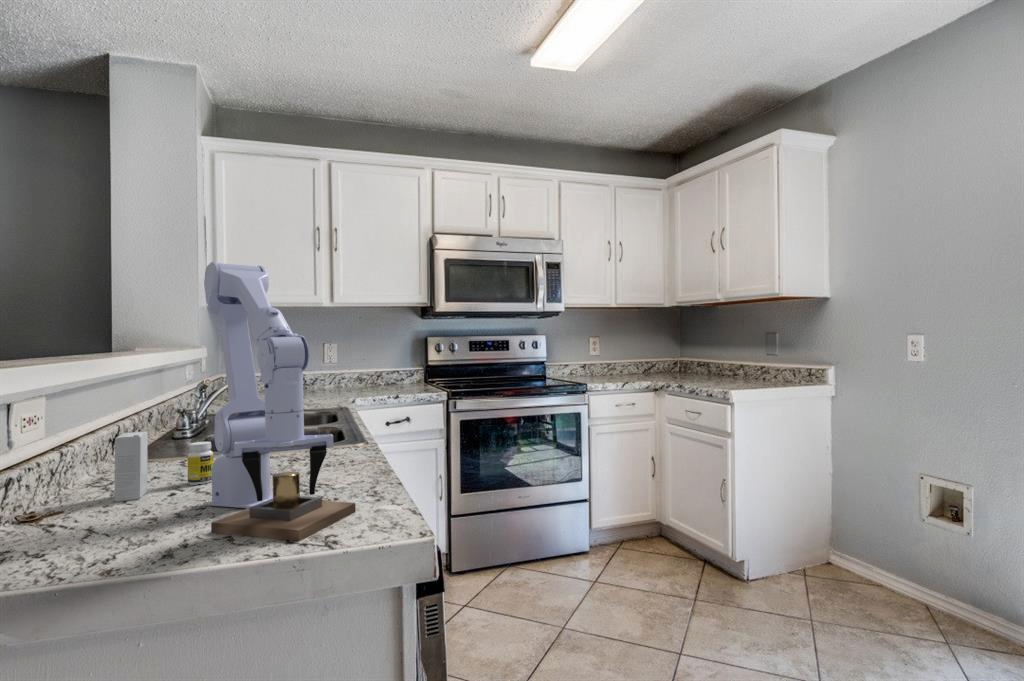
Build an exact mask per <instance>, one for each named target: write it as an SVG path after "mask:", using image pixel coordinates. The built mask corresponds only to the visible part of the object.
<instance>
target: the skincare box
mask: <svg viewBox="0 0 1024 681" xmlns="http://www.w3.org/2000/svg"><path fill="white" fill-rule="evenodd" d="M148 441H149V440H148V431H138V432H125V433H122V434H121V435H119V436H117V437H115V440H114V446H115V447H114V502H127V501H128V502H129V501H135V500H140V499H141V498H142V497H143V496H144V495H145V494H146V493H147V492H148V444H149V442H148Z"/></svg>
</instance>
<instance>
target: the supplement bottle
mask: <svg viewBox="0 0 1024 681" xmlns="http://www.w3.org/2000/svg"><path fill="white" fill-rule="evenodd" d="M188 448H189V453H188V454H187V484H188V485H189V484H190V486H199V485H198V484H202V485H206V484H205V483H207V484H210V483H212V466H213V463H214V452H213V451H212V450H211V449H212V442H211V441H196V442H192V443H189V447H188ZM209 482H210V483H209Z"/></svg>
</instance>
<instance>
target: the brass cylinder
mask: <svg viewBox="0 0 1024 681" xmlns="http://www.w3.org/2000/svg"><path fill="white" fill-rule="evenodd" d="M300 478H301V477H300V472H299V471H284V472H282V471H281V472H278V473H275V474H274V473H273V475H272V494H273V508H283V509H290V508H293V507H295V506H297V505H300V496H301V486H300V485H301V482H300V480H301V479H300Z"/></svg>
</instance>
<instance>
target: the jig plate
mask: <svg viewBox="0 0 1024 681" xmlns="http://www.w3.org/2000/svg"><path fill="white" fill-rule="evenodd" d="M271 500H272V499H271ZM266 502H267V501H266ZM263 503H264V502H263ZM261 504H262V503H261ZM258 505H259V504H258ZM253 507H254V506H253ZM250 508H251V507H250ZM355 513H356V502H347V501H334V500H333V501H331V500H322V507H321V508H318V509H316V510H314V511H312V512H310V513H307V514H305V515H303V516H301V517H299V518H296V519H294V520H292V521H281V520H269V519H257V518H250V516H249V508H244V509H242V510H240V511H237V512H235V513H232V514H230V515H227V516H224V517H222V518H219V519H216V520H213V521H211V524H210V527H211V530H210V532H211V533H214V534H215V533H216V534H224V535H226V534H227V535H235V536H243V537H244V536H245V537H258V538H267V539H277V540H286V541H299V542H300V541H302V540H304V539H306V538H307V537H310V536H312V535H314V534H316V533H318V532H319V531H321V530H324V529H326V528H327V527H329V526H331V525H333V524H335V523H337V522H339V521H340V520H343V519H344V518H347V517H348V516H350V515H352V514H355Z"/></svg>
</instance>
